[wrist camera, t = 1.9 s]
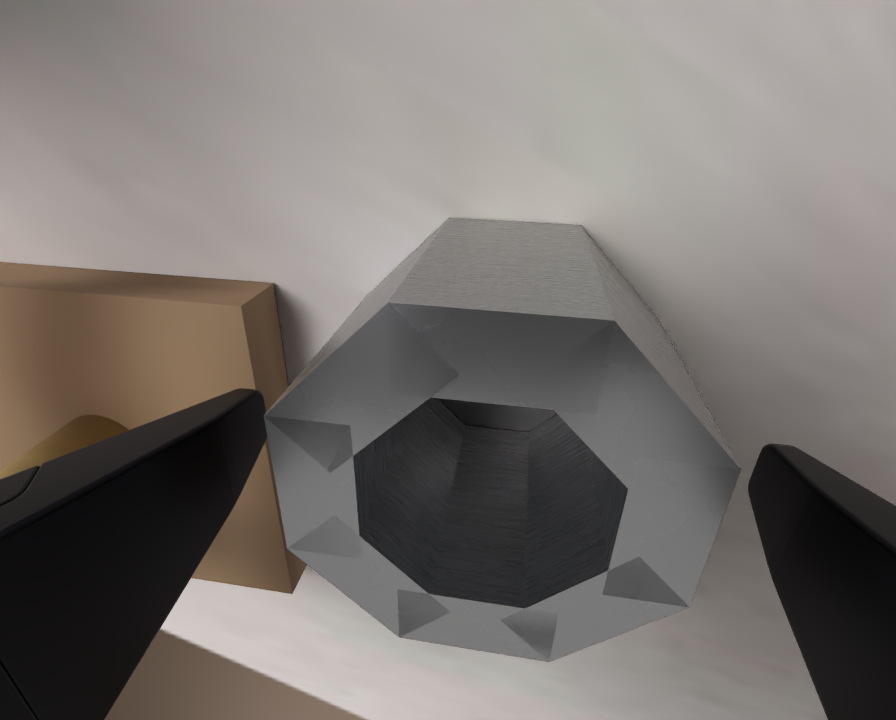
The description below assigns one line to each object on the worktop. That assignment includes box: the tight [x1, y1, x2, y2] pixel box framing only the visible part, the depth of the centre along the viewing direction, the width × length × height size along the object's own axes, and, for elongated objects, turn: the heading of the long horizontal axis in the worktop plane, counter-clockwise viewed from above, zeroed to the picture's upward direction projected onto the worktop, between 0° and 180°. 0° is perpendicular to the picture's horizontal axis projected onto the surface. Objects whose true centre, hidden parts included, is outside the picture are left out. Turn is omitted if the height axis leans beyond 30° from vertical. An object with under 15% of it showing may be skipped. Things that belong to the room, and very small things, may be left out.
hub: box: [264, 218, 741, 662], centre depth 10 cm, size 6×6×5 cm
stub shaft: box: [0, 262, 307, 594], centre depth 12 cm, size 9×9×6 cm
